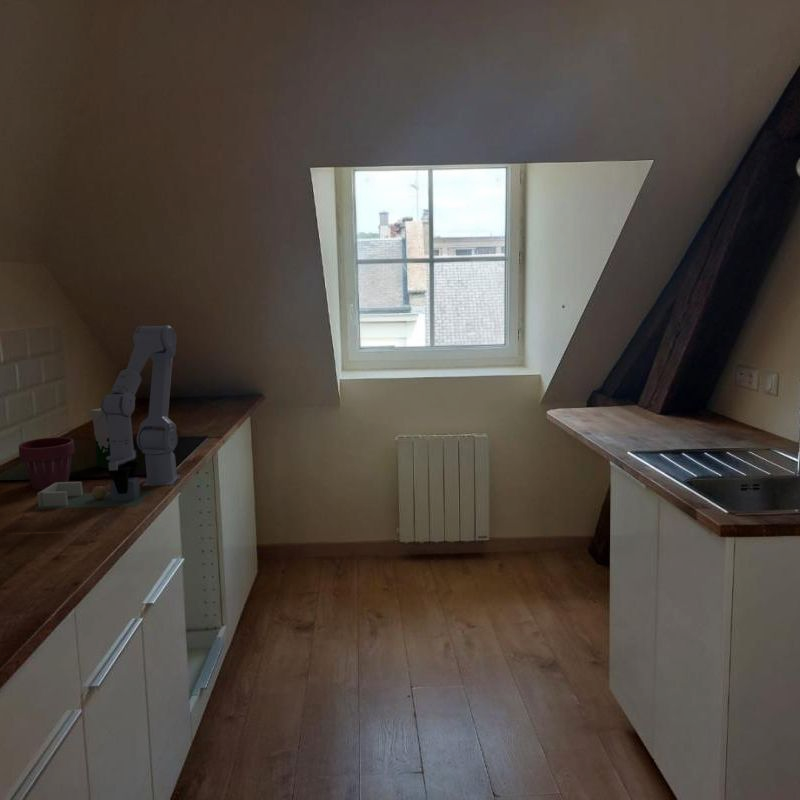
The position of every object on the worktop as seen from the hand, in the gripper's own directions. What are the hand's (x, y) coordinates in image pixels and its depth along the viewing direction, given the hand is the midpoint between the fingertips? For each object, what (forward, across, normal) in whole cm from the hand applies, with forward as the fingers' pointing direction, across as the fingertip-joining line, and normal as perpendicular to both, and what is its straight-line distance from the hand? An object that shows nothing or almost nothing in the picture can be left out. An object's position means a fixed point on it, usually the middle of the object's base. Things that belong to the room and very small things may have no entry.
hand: (125, 490), depth 198 cm
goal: (+2, 0, -17) cm, 17 cm away
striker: (+2, 0, 0) cm, 2 cm away
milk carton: (+3, -39, -18) cm, 43 cm away
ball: (0, 0, -7) cm, 7 cm away
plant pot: (+3, -16, -27) cm, 31 cm away
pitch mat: (+2, 0, -8) cm, 8 cm away
